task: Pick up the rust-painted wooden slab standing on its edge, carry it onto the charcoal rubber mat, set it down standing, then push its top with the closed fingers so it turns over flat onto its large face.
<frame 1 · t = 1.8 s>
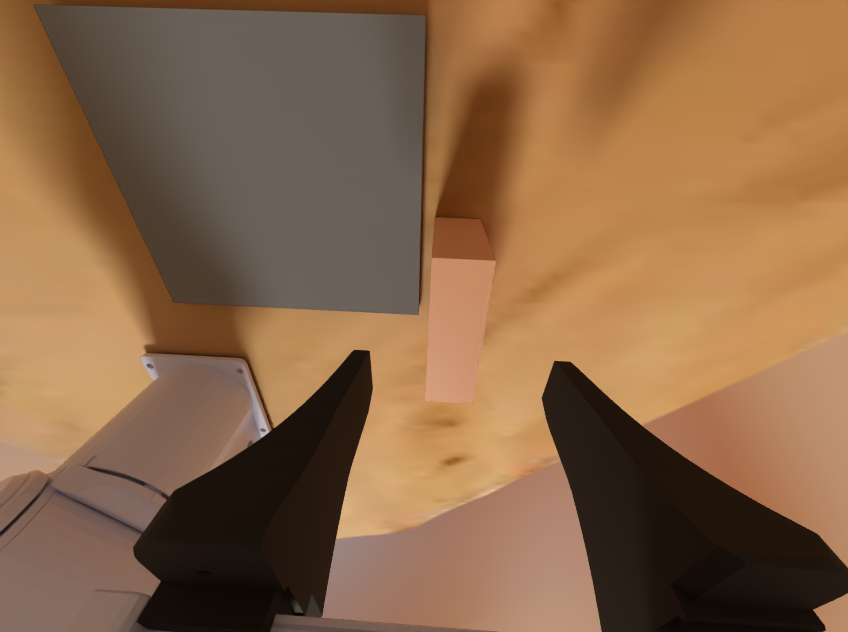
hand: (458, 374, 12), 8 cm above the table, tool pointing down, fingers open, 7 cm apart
mat: (273, 192, 17), on the table
slab: (451, 283, 19), on the table
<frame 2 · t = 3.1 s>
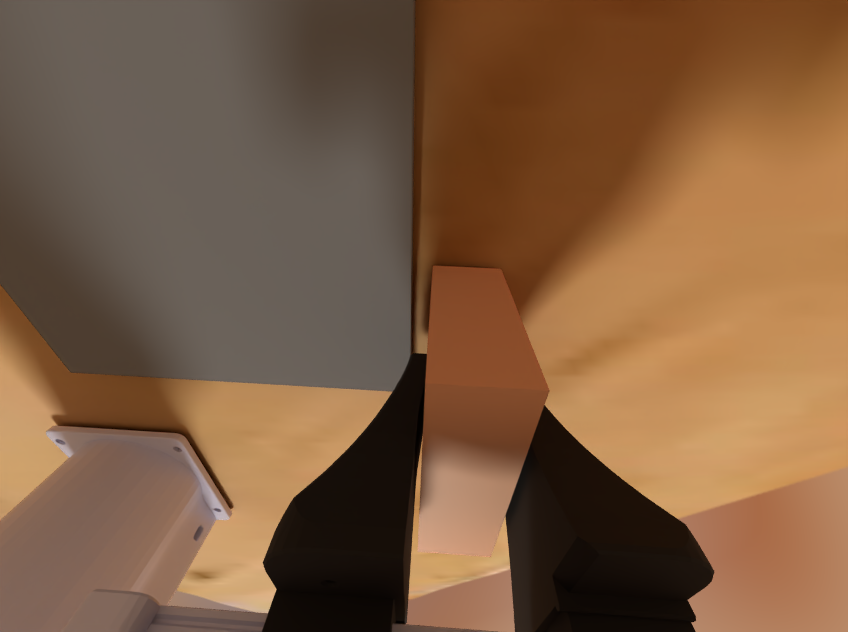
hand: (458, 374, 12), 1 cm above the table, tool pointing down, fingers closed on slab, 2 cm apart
mat: (189, 227, 11), on the table
slab: (457, 352, 13), on the table, touching gripper
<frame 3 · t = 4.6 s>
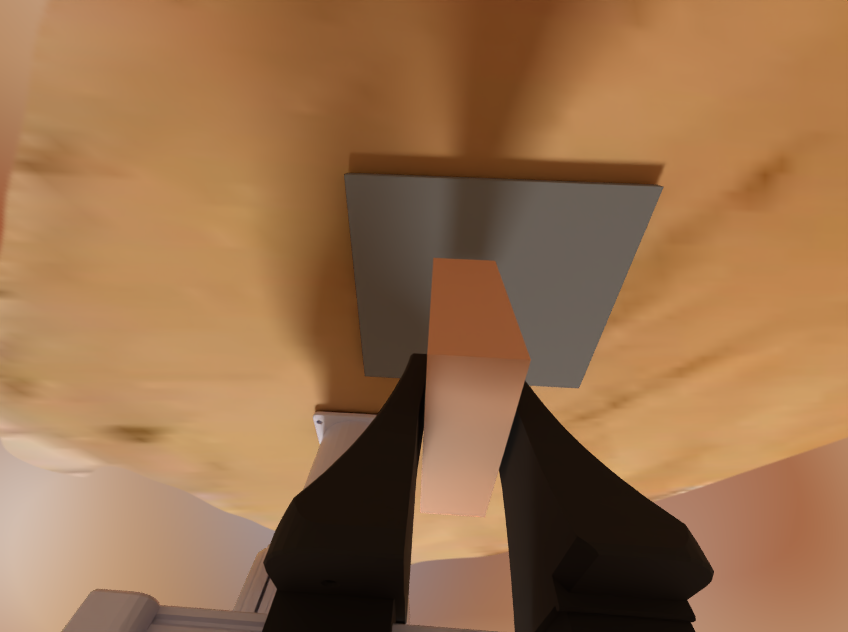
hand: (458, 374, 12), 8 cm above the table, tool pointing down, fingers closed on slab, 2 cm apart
mat: (482, 296, 20), on the table
slab: (455, 337, 15), point 6 cm above the table, touching gripper
when the fingers open (3 cm above the table, at t = 5.9 s): slab stays where it is, resting on mat.
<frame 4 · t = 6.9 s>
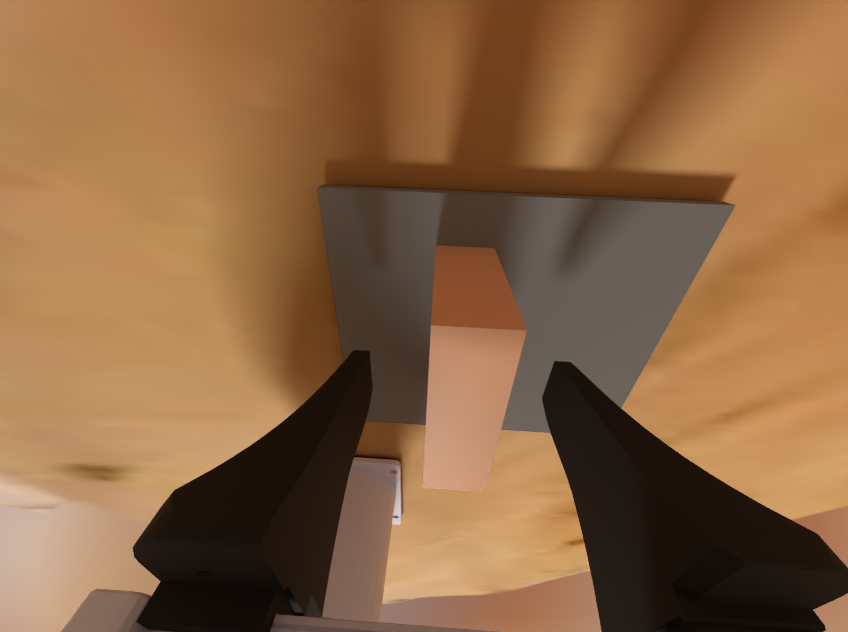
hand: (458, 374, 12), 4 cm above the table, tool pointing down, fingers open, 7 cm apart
mat: (492, 333, 16), on the table
slab: (456, 324, 15), point 1 cm above the table, touching mat
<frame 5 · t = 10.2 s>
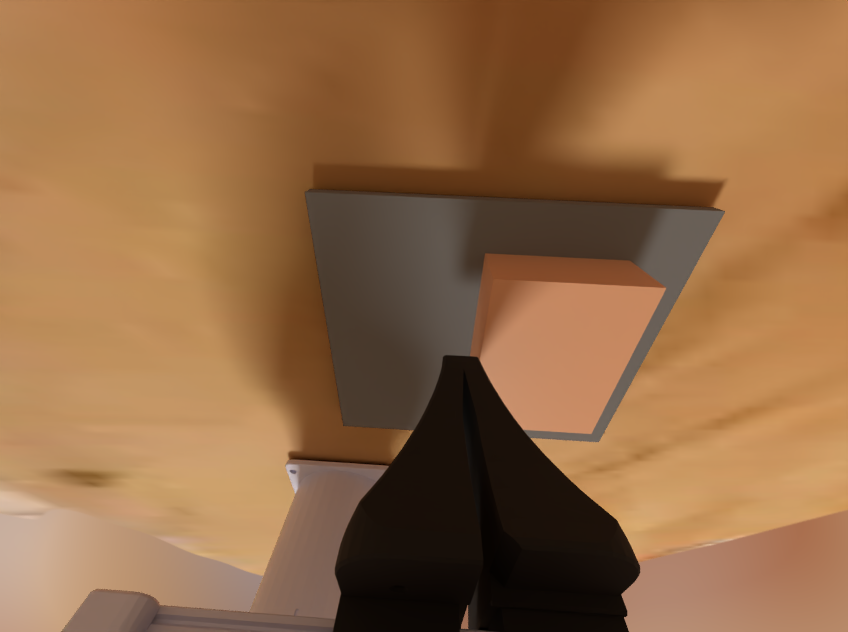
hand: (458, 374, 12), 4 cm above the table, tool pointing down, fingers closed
mat: (484, 338, 16), on the table
slab: (475, 346, 14), point 2 cm above the table, tilted 90°, touching mat
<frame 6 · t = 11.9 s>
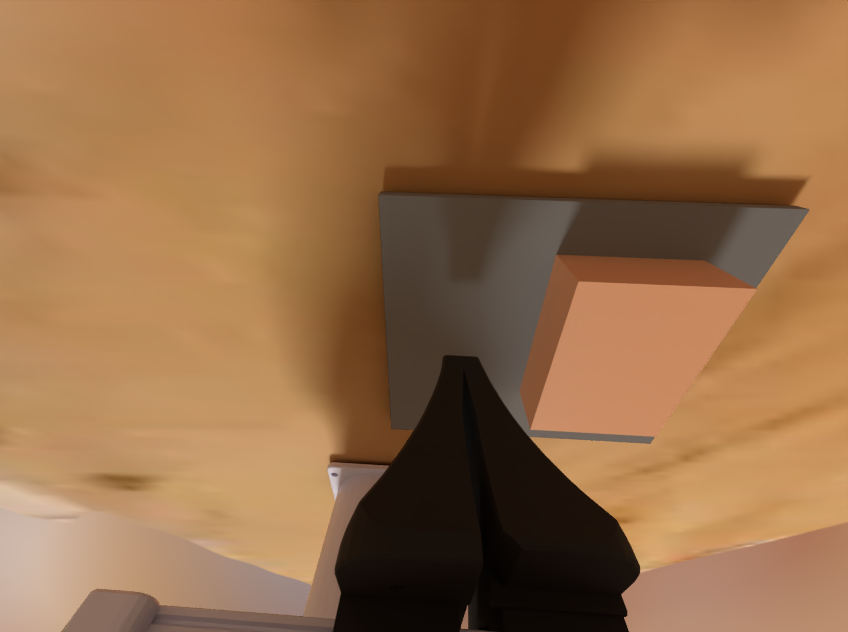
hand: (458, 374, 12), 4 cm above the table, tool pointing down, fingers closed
mat: (542, 340, 16), on the table
slab: (542, 349, 14), point 2 cm above the table, tilted 90°, touching mat
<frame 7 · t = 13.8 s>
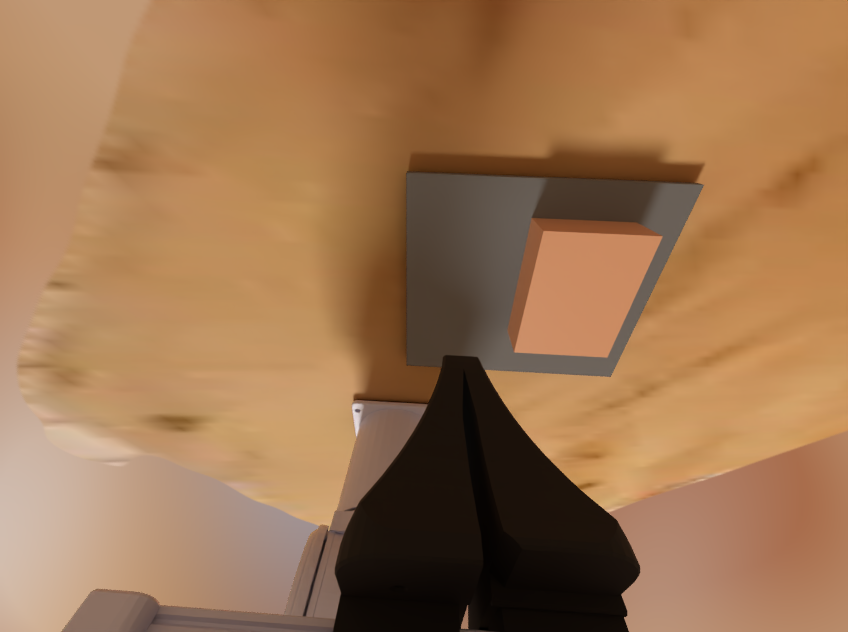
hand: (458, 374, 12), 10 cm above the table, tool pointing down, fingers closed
mat: (524, 288, 21), on the table
slab: (522, 289, 19), point 2 cm above the table, tilted 90°, touching mat
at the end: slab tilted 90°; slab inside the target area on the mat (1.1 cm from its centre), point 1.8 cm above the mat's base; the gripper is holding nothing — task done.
